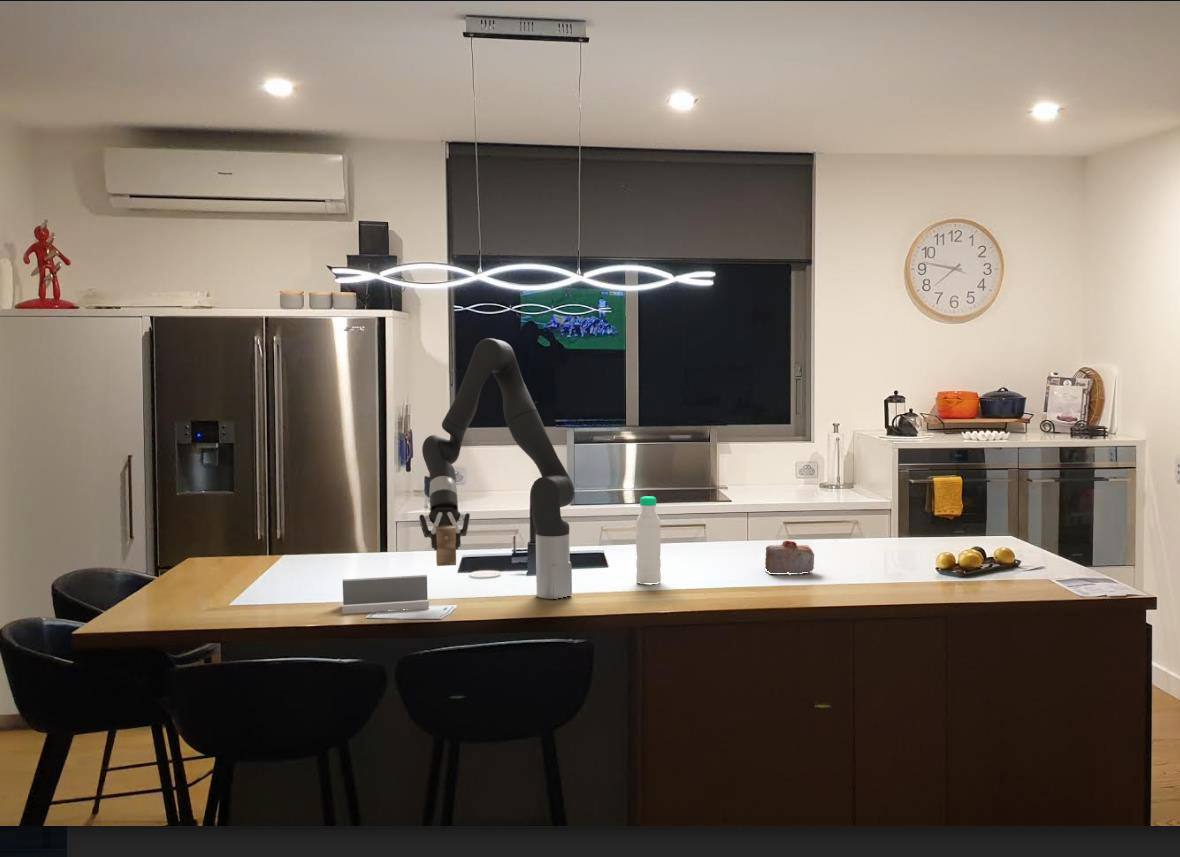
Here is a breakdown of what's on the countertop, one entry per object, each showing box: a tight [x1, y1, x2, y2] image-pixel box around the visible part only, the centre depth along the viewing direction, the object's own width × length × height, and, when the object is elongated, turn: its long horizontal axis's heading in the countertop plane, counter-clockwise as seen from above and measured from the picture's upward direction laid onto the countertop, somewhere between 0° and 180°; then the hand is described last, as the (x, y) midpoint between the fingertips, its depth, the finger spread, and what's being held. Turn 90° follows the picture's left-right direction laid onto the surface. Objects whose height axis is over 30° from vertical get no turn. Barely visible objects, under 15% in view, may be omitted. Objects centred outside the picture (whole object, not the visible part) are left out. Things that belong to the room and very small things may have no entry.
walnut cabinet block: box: [435, 525, 457, 567], centre depth 264 cm, size 5×5×10 cm
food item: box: [764, 540, 815, 573], centre depth 296 cm, size 14×8×10 cm, turn 94°
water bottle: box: [635, 495, 662, 583], centre depth 285 cm, size 7×7×25 cm
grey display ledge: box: [341, 574, 430, 615], centre depth 261 cm, size 22×9×7 cm, turn 102°
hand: (446, 548), depth 262 cm, fingers closed on walnut cabinet block, 5 cm apart
